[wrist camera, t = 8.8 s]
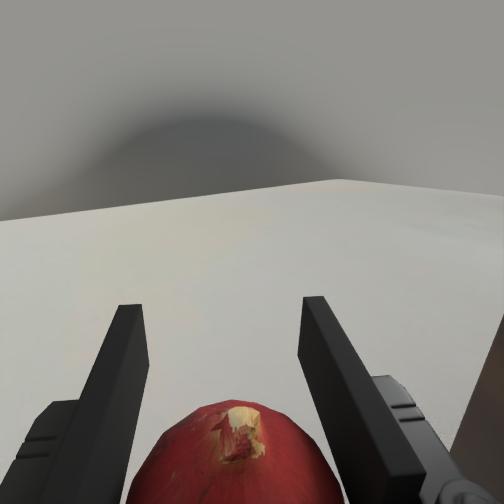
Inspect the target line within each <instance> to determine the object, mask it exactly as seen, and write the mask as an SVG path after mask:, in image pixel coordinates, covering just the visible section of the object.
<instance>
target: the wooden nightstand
mask: <svg viewBox="0 0 504 504" xmlns="http://www.w3.org/2000/svg"><path fill="white" fill-rule="evenodd" d="M449 453H450V455H451V456H452V458H453V459H454V460H455V462H456V463H457V465H458V466H459V468H460V469H461V471H462V472H463V473H464V475H465V476H466V477H467V478H468V480H469V481H471V482H474V483H477V484H478V485H480V486H481V487H483V488H485V489H486V490H488V491H489V492H491V493H492V494H493V495H494V496H495V497H496V498H497V499H498V500H499V501H500V502H501V503H502V504H504V315H503V318H502V320H501V323H500V325H499V328H498V330H497V333H496V335H495V338H494V340H493V343H492V346H491V348H490V351H489V353H488V356H487V358H486V361H485V363H484V366H483V368H482V371H481V373H480V376H479V378H478V381H477V383H476V386H475V389H474V391H473V394H472V396H471V399H470V401H469V404H468V406H467V409H466V411H465V414H464V416H463V419H462V421H461V424H460V427H459V429H458V432H457V434H456V437H455V439H454V442H453V444H452V447H451V449H450V452H449Z"/></svg>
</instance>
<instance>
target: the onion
mask: <svg viewBox="0 0 504 504" xmlns="http://www.w3.org/2000/svg"><path fill="white" fill-rule="evenodd" d="M126 504H345V502H344V497H343V494H342V490H341V487H340V484H339V482H338V480H337V478H336V477H335V475H334V473H333V471H332V470H331V468H330V466H329V464H328V463H327V461H326V459H325V457H324V455H323V454H322V452H321V450H320V448H319V447H318V445H317V444H316V442H315V441H314V440H313V439H312V438H311V437H310V436H309V435H308V434H307V433H306V432H305V431H303V430H302V429H301V428H300V427H299V426H298V425H297V424H296V423H295V422H293V421H292V420H291V419H290V418H289V417H288V416H286V415H285V414H282V413H280V412H277V411H274V410H272V409H269V408H267V407H265V406H263V405H260V404H258V403H254V402H246V401H239V400H227V401H224V402H220V403H216V404H212V405H208V406H204V407H200V408H198V409H197V410H196V411H194V412H193V413H191V414H190V415H188V416H187V417H185V418H184V419H183V420H181V421H180V422H178V423H177V424H175V425H174V426H173V427H171V428H170V429H168V430H167V431H165V432H164V433H163V434H162V435H161V437H160V438H159V440H158V441H157V443H156V444H155V446H154V447H153V449H152V451H151V452H150V454H149V455H148V457H147V458H146V460H145V461H144V463H143V465H142V466H141V468H140V469H139V471H138V472H137V474H136V475H135V477H134V479H133V480H132V483H131V486H130V489H129V492H128V496H127V500H126Z"/></svg>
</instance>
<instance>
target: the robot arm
mask: <svg viewBox="0 0 504 504" xmlns="http://www.w3.org/2000/svg"><path fill="white" fill-rule="evenodd" d="M298 358H299V361H300V364H301V367H302V370H303V373H304V375H305V378H306V381H307V384H308V387H309V390H310V392H311V395H312V398H313V401H314V404H315V407H316V410H317V412H318V415H319V418H320V421H321V424H322V427H323V429H324V432H325V435H326V438H327V441H328V444H329V447H330V449H331V452H332V455H333V458H334V461H335V464H336V466H337V469H338V472H339V475H340V478H341V481H342V484H343V486H344V489H345V492H346V495H347V498H348V501H349V503H350V504H502V503H501V502H500V501H499V500H498V499H497V498H496V497H495V496H494V495H493V494H492V493H491V492H489V491H488V490H486V489H485V488H483V487H481V486H480V485H478V484H477V483H474V482H471V481H469V480H468V478H467V477H466V476H465V475H464V473H463V472H462V471H461V469H460V468H459V466H458V465H457V463H456V462H455V460H454V459H453V458H452V456H451V455H450V453H449V452H448V450H447V449H446V447H445V446H444V444H443V443H442V441H441V440H440V438H439V437H438V436H437V434H436V433H435V431H434V430H433V428H432V427H431V425H430V424H429V422H428V421H426V420H425V417H424V415H423V414H422V412H421V411H420V409H419V408H418V407H416V403H415V402H414V400H413V399H412V397H411V396H410V395H409V393H408V392H407V390H406V389H405V388H404V387H403V386H402V385H401V384H399V383H398V382H397V381H396V380H395V379H393V378H392V377H391V376H390V375H386V376H372V377H371V376H370V375H369V373H368V371H367V370H366V368H365V366H364V364H363V363H362V361H361V359H360V358H359V356H358V354H357V353H356V351H355V349H354V347H353V346H352V344H351V342H350V341H349V339H348V337H347V335H346V334H345V332H344V330H343V329H342V327H341V325H340V324H339V322H338V320H337V318H336V317H335V315H334V313H333V312H332V310H331V308H330V307H329V305H328V303H327V301H326V300H325V298H324V296H313V297H303V306H302V316H301V326H300V336H299V346H298ZM148 369H149V358H148V350H147V342H146V334H145V327H144V319H143V311H142V304H132V305H119V306H118V308H117V311H116V313H115V315H114V318H113V320H112V323H111V325H110V327H109V330H108V332H107V334H106V337H105V339H104V341H103V344H102V346H101V348H100V351H99V353H98V356H97V358H96V360H95V363H94V365H93V367H92V370H91V372H90V374H89V377H88V379H87V382H86V384H85V386H84V389H83V391H82V393H81V396H80V398H79V400H66V401H53V402H52V403H51V404H50V405H49V406H48V407H47V408H46V409H45V410H44V411H43V412H42V413H41V414H40V415H39V416H38V417H37V418H36V419H35V421H34V423H33V425H32V427H31V428H30V430H29V432H28V434H27V436H26V438H25V442H24V443H22V445H21V447H20V449H19V451H18V453H17V455H16V459H15V460H13V462H12V464H11V466H10V468H9V470H8V472H7V473H6V475H5V477H4V479H3V481H2V483H1V485H0V504H120V500H121V495H122V490H123V486H124V481H125V477H126V472H127V467H128V463H129V458H130V453H131V449H132V444H133V439H134V435H135V430H136V425H137V421H138V416H139V411H140V407H141V402H142V397H143V393H144V388H145V383H146V379H147V374H148Z"/></svg>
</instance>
